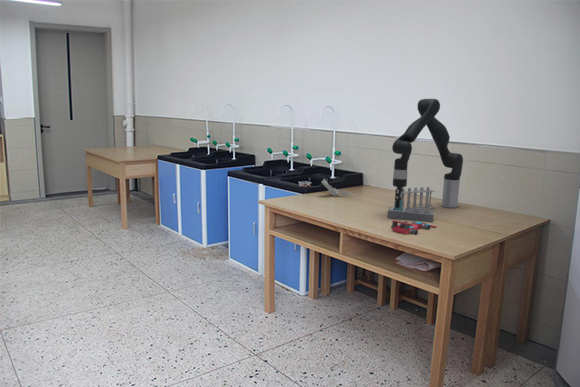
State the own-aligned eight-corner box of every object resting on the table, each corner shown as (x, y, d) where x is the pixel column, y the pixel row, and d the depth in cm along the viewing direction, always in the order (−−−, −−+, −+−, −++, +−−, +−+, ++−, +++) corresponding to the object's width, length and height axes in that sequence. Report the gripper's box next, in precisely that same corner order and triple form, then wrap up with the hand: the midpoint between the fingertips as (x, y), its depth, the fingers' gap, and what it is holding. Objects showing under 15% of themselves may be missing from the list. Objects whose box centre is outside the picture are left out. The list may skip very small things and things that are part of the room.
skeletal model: (356, 196, 327) (337, 173, 313) (349, 207, 324) (329, 184, 310) (341, 192, 339) (322, 169, 325) (333, 202, 337) (314, 180, 323)
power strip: (389, 214, 275) (390, 206, 274) (433, 218, 267) (433, 210, 267) (387, 217, 266) (387, 210, 265) (432, 222, 258) (433, 214, 257)
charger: (394, 213, 271) (395, 200, 270) (402, 214, 270) (403, 200, 268) (393, 215, 267) (394, 201, 266) (401, 216, 266) (402, 201, 265)
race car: (441, 217, 244) (411, 224, 229) (440, 229, 246) (410, 237, 230) (418, 212, 255) (387, 218, 240) (417, 223, 256) (387, 230, 241)
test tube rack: (398, 211, 283) (400, 189, 281) (394, 209, 287) (395, 188, 285) (433, 208, 292) (435, 187, 290) (429, 207, 296) (430, 186, 294)
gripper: (405, 179, 257) (403, 209, 260) (408, 176, 270) (406, 204, 273) (391, 178, 259) (389, 208, 262) (394, 175, 273) (392, 203, 276)
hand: (398, 206), depth 268 cm, fingers open, 8 cm apart
